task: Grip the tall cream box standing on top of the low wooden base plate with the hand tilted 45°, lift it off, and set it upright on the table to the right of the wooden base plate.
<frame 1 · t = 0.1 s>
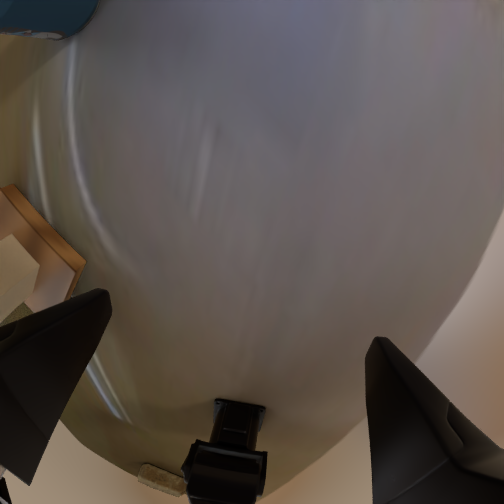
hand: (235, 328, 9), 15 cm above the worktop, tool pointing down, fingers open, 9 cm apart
cream box: (21, 264, 26), point 2 cm above the worktop, touching wooden base plate
stone block: (165, 472, 52), on the worktop
soda can: (78, 11, 16), on the worktop
wooden base plate: (34, 255, 28), on the worktop
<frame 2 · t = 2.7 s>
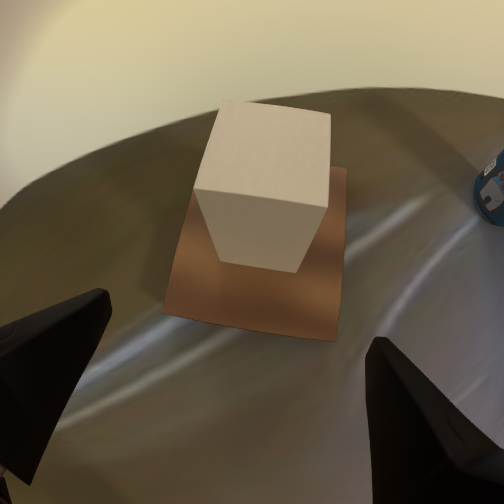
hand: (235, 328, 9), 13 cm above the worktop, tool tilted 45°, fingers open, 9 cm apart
cream box: (263, 232, 22), point 2 cm above the worktop, touching wooden base plate
soda can: (488, 204, 26), on the worktop
wooden base plate: (263, 244, 24), on the worktop
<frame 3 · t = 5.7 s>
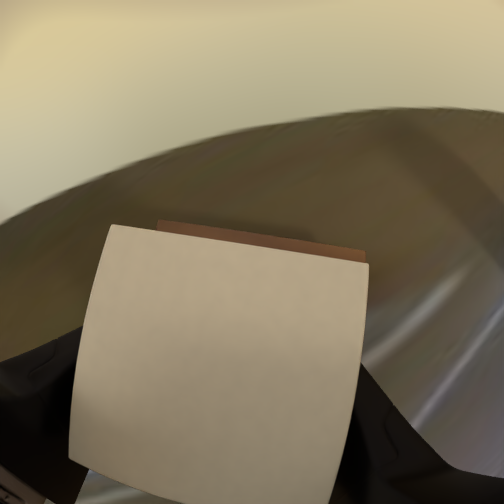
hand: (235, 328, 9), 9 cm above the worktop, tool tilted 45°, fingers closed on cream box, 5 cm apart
cream box: (238, 363, 14), point 3 cm above the worktop, touching gripper, wooden base plate
wooden base plate: (240, 361, 17), on the worktop
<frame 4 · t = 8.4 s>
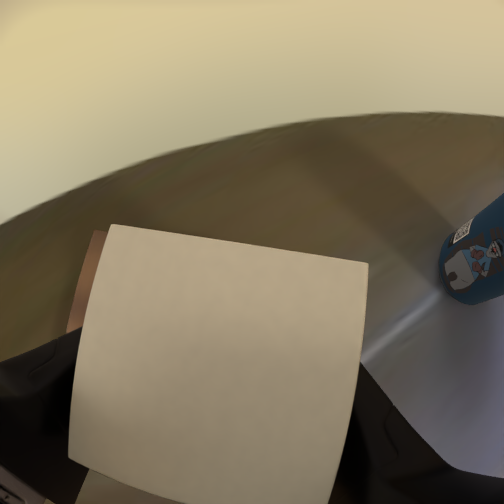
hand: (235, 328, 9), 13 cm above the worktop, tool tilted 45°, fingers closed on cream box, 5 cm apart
cream box: (237, 363, 14), point 6 cm above the worktop, touching gripper
soda can: (459, 271, 22), on the worktop
wooden base plate: (148, 339, 21), on the worktop
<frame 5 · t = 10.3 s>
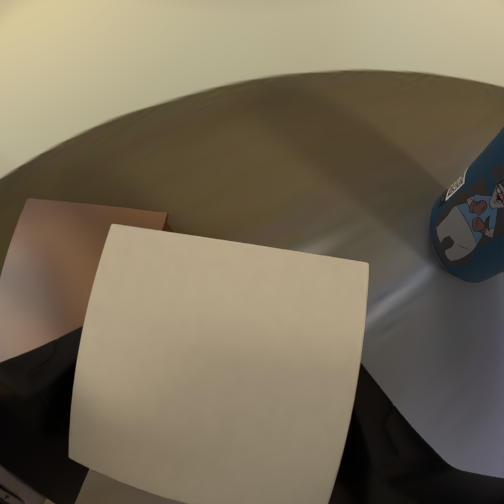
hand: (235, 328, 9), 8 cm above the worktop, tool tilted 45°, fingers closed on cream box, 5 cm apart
cream box: (238, 363, 14), point 2 cm above the worktop, touching gripper
soda can: (456, 242, 18), on the worktop
wooden base plate: (72, 317, 16), on the worktop
when the fingers open (6 cm above the worktop, at t = 11.3 s): cream box stays where it is, on the worktop.
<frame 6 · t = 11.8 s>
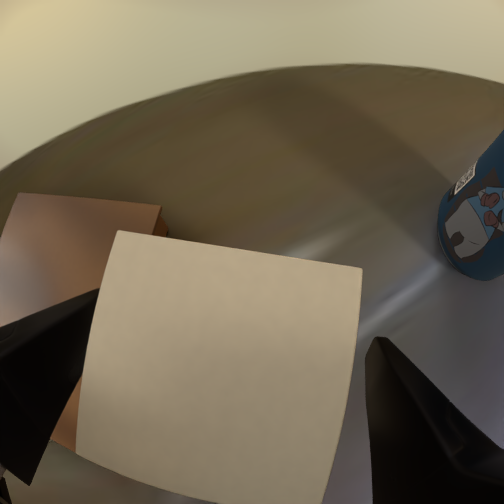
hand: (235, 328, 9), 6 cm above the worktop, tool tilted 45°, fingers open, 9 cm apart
cream box: (238, 363, 15), on the worktop
soda can: (464, 239, 17), on the worktop
wooden base plate: (61, 316, 15), on the worktop
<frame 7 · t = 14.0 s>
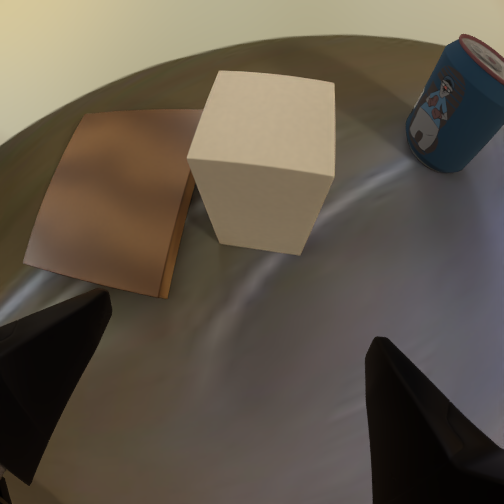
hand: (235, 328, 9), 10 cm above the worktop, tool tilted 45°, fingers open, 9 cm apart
cream box: (265, 212, 20), on the worktop
soda can: (431, 149, 22), on the worktop
wooden base plate: (120, 197, 21), on the worktop
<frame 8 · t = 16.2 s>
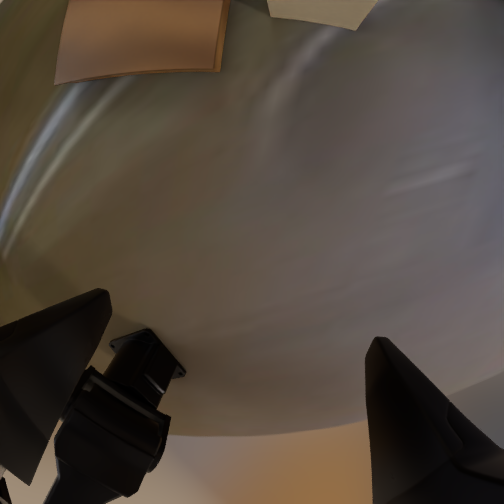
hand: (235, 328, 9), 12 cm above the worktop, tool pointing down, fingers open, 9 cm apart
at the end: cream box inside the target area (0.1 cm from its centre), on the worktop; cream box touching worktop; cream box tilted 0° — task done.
